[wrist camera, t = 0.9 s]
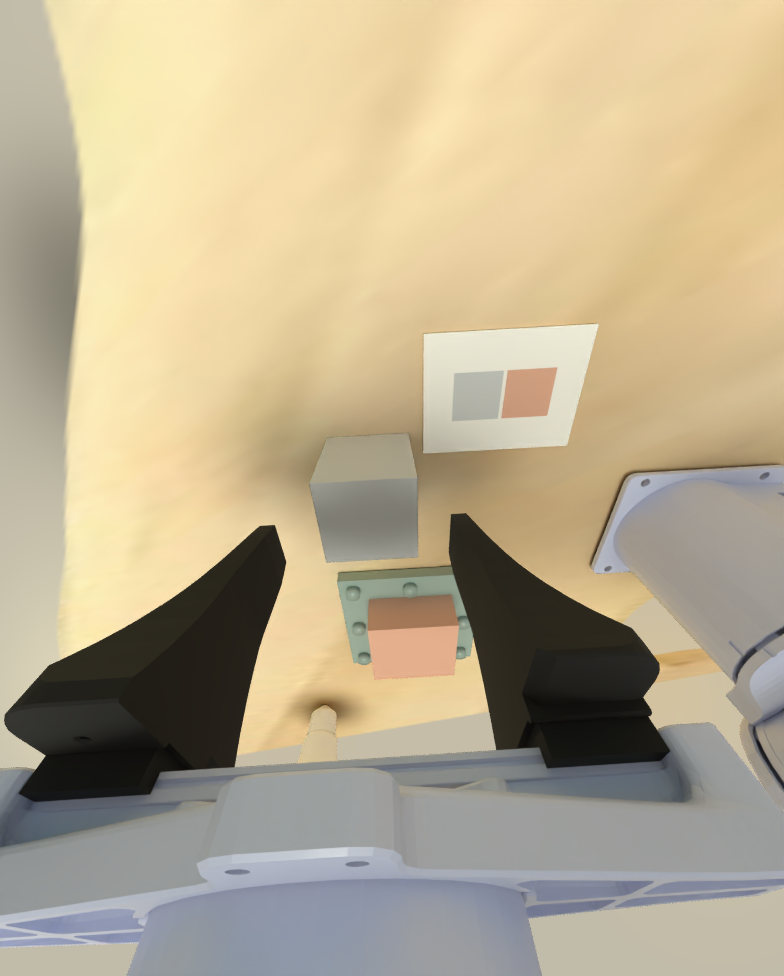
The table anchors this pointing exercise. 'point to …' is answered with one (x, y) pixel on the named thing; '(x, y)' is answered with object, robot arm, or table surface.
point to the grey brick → (366, 498)
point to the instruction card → (503, 387)
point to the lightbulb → (320, 737)
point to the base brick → (412, 636)
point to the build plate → (395, 585)
